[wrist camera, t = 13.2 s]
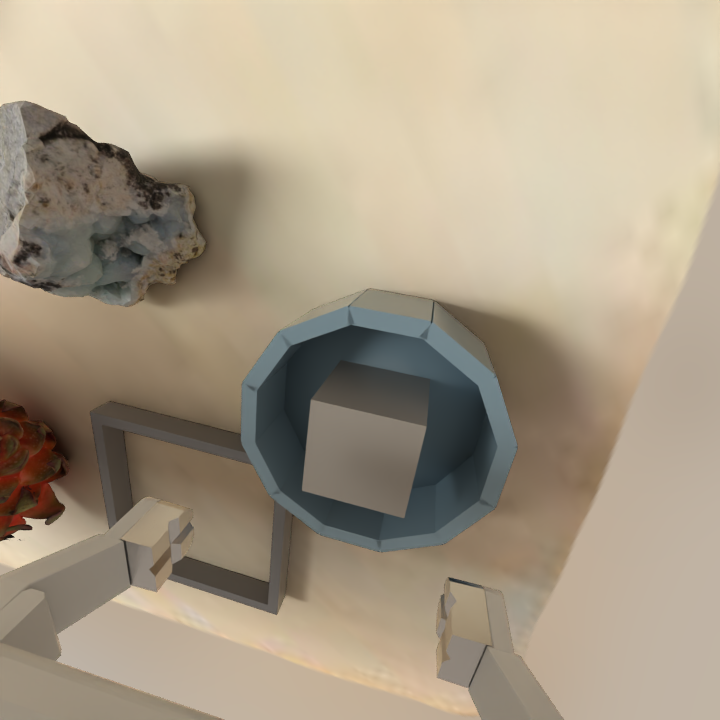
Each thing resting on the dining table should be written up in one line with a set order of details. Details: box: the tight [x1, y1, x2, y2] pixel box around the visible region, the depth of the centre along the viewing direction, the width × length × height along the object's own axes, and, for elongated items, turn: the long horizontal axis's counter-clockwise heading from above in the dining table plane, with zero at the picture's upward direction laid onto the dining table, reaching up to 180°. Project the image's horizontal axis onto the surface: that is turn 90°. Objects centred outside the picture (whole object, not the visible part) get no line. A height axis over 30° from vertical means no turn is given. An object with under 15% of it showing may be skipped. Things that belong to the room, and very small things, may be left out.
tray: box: [90, 401, 293, 615], centre depth 27 cm, size 14×14×2 cm
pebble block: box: [302, 360, 430, 518], centre depth 18 cm, size 5×5×5 cm
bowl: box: [241, 289, 518, 552], centre depth 19 cm, size 13×13×4 cm
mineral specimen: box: [0, 101, 206, 307], centre depth 18 cm, size 10×8×10 cm
